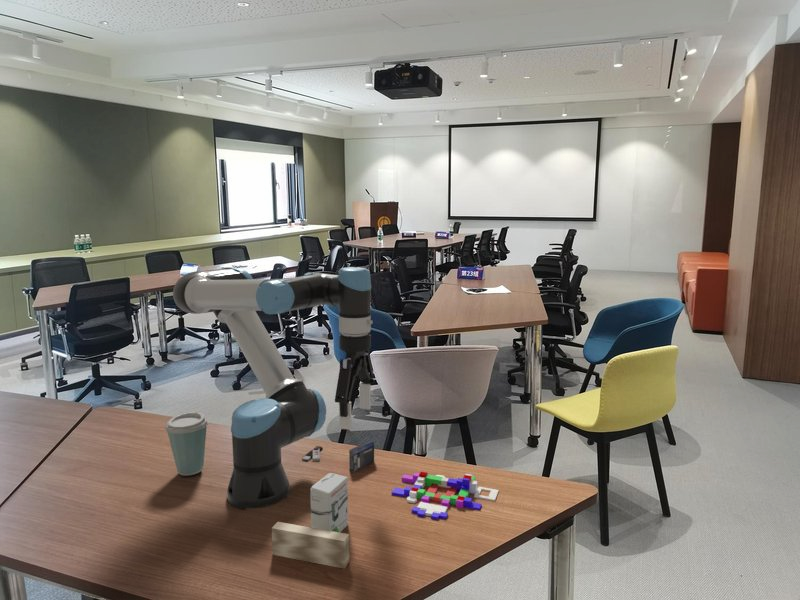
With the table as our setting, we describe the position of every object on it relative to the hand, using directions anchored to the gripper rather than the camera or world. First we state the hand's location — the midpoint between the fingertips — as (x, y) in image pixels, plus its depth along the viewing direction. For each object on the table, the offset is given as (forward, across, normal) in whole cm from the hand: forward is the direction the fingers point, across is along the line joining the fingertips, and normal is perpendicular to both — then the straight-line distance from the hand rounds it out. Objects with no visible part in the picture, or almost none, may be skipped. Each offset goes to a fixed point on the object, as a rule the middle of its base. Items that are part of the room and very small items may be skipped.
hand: (355, 418), depth 138 cm
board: (+20, -26, 0) cm, 33 cm away
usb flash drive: (+21, +18, +19) cm, 34 cm away
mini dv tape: (+20, +16, +4) cm, 26 cm away
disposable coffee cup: (+20, 0, +48) cm, 52 cm away
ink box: (+20, -16, 0) cm, 26 cm away
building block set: (+21, +6, -21) cm, 30 cm away
